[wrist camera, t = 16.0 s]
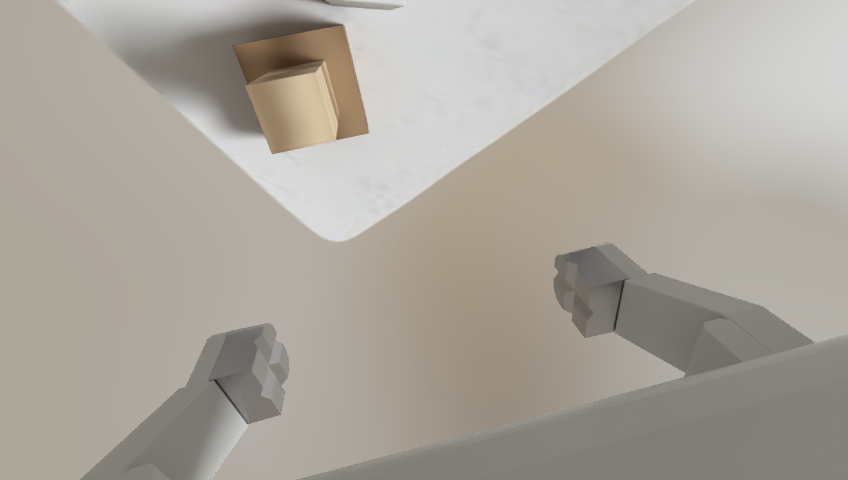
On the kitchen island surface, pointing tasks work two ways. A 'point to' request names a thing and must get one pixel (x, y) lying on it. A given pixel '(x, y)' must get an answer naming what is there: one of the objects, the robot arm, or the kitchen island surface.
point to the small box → (369, 4)
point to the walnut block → (310, 49)
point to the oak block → (295, 106)
